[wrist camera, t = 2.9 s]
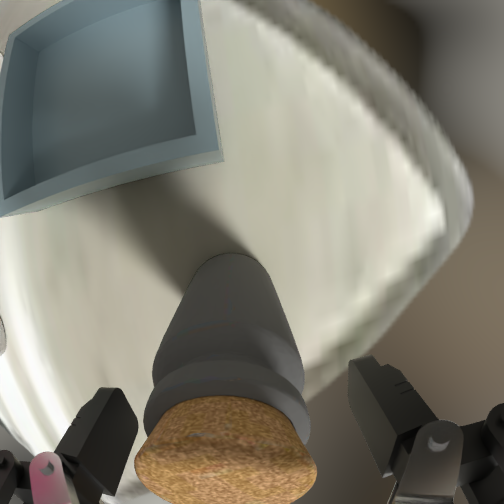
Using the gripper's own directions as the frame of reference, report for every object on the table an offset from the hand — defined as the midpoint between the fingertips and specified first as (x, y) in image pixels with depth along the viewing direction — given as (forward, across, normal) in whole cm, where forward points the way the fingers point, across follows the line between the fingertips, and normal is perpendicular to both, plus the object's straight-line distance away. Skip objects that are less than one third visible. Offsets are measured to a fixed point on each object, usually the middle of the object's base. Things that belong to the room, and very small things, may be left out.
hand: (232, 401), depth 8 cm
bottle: (+12, 0, 0) cm, 12 cm away
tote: (+12, +7, -17) cm, 22 cm away
